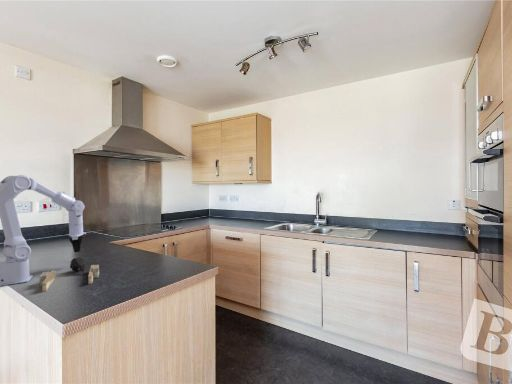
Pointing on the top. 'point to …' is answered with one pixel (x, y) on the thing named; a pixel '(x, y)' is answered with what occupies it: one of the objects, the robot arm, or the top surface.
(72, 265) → the power plug
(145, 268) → the top surface
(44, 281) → the guide channel
